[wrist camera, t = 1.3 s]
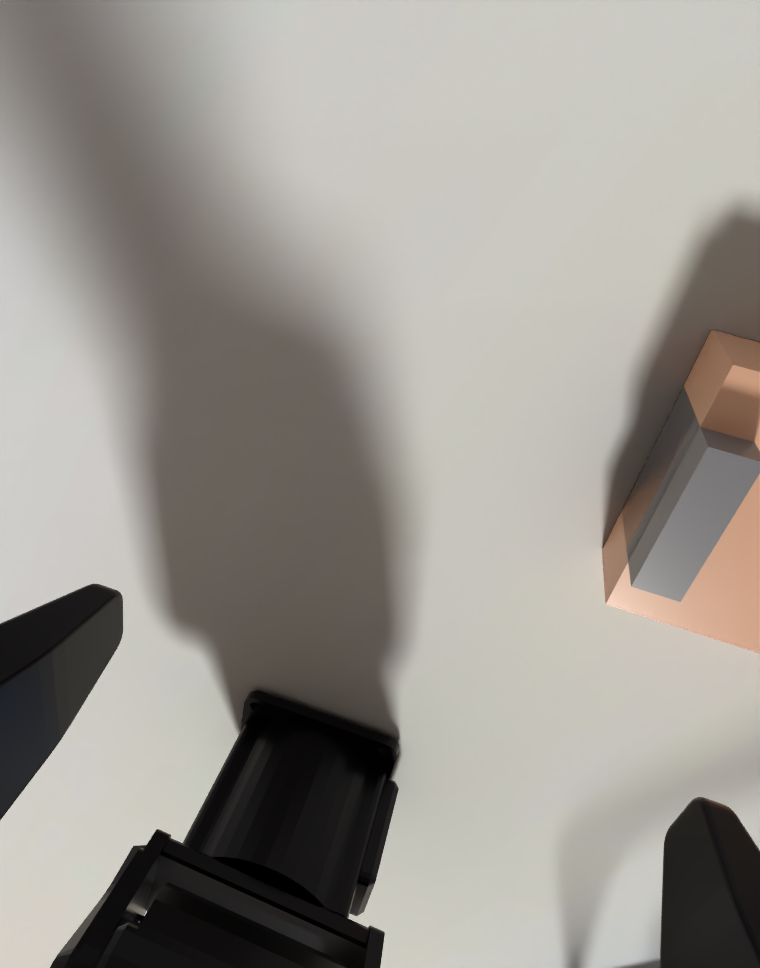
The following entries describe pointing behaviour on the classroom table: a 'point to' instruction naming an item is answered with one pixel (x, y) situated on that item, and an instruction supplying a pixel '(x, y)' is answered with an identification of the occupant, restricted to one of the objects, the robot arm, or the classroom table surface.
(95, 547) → the classroom table surface
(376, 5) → the classroom table surface
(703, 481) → the pink slab with nub
